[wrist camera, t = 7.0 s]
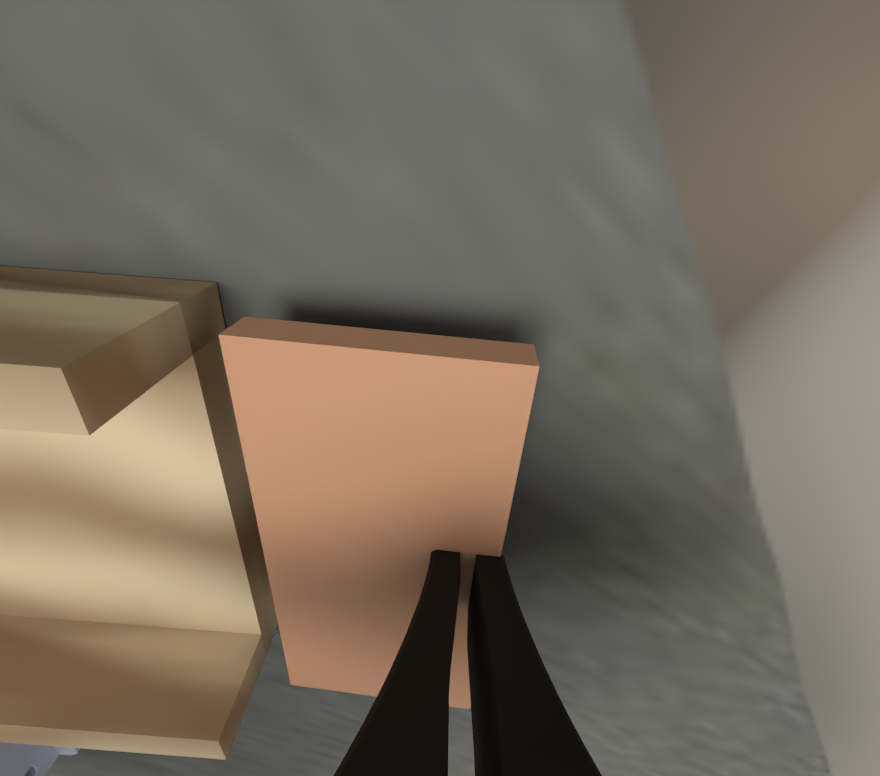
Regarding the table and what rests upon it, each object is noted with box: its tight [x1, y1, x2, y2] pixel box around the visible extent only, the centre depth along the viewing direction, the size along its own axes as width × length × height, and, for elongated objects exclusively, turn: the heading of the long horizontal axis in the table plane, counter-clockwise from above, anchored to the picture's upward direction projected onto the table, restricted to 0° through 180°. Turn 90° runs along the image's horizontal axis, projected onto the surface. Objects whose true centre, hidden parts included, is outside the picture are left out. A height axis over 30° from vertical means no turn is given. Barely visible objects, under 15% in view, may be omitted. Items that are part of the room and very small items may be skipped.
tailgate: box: [218, 316, 540, 709], centre depth 12 cm, size 13×2×6 cm
